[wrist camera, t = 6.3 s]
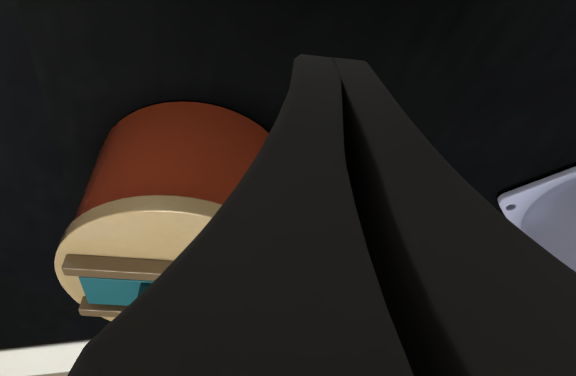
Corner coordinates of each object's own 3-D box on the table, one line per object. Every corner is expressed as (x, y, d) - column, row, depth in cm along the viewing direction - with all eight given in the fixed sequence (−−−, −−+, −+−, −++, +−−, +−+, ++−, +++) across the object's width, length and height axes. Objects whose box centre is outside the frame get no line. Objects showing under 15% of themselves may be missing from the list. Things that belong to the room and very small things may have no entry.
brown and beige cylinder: (307, 108, 22) (313, 236, 17) (282, 238, 30) (281, 355, 25) (78, 86, 22) (14, 215, 16) (113, 227, 29) (76, 345, 24)
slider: (158, 274, 20) (147, 327, 19) (162, 300, 22) (152, 350, 20) (80, 269, 20) (62, 322, 18) (90, 295, 22) (74, 347, 20)
